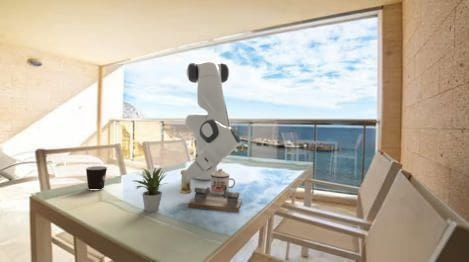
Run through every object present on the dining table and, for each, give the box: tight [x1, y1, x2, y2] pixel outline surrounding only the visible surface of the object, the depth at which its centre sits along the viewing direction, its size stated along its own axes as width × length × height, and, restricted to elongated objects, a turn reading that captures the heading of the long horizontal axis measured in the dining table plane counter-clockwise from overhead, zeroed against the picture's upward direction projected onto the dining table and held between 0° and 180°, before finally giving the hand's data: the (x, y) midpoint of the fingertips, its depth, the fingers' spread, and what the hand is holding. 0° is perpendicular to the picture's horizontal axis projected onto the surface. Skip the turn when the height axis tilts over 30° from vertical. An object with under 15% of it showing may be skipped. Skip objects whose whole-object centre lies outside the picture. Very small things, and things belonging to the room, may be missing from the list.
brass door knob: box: [179, 169, 192, 195], centre depth 107 cm, size 5×5×9 cm
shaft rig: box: [187, 186, 243, 213], centre depth 104 cm, size 12×20×7 cm, turn 81°
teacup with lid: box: [210, 168, 236, 196], centre depth 122 cm, size 12×9×12 cm
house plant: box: [133, 167, 168, 213], centre depth 97 cm, size 14×14×16 cm
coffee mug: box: [85, 165, 108, 190], centre depth 120 cm, size 12×9×10 cm
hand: (184, 180), depth 107 cm, fingers closed on brass door knob, 4 cm apart
